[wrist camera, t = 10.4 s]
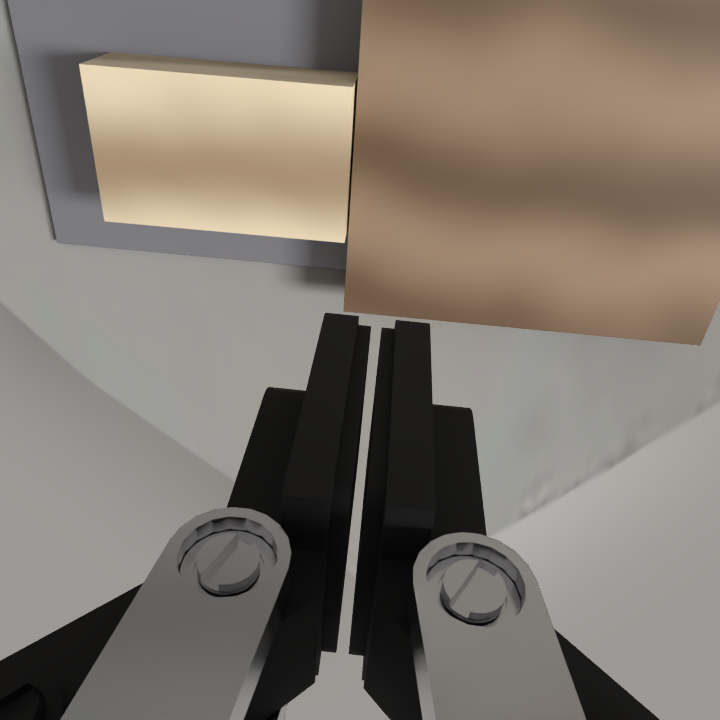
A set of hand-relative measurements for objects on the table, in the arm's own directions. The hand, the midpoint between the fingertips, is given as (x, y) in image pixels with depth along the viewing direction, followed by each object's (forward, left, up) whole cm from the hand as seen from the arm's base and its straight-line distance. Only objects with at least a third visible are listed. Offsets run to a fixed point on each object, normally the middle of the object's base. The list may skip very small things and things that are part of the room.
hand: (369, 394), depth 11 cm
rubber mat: (+1, -9, -19) cm, 21 cm away
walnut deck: (+1, +6, -19) cm, 20 cm away
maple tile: (+1, -7, -19) cm, 20 cm away
